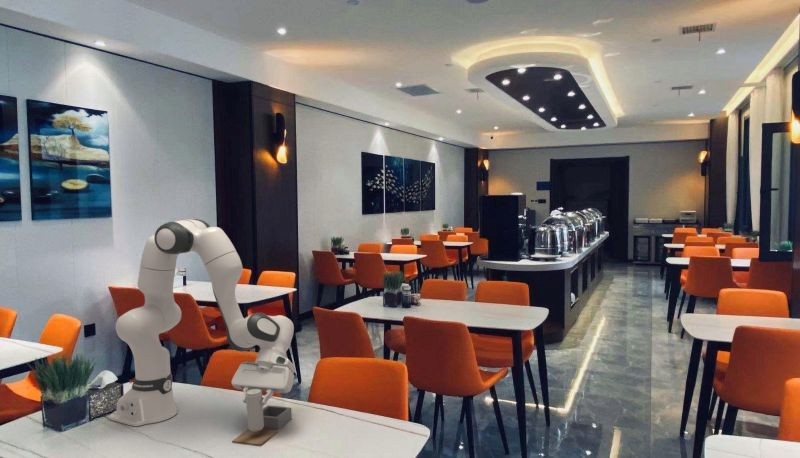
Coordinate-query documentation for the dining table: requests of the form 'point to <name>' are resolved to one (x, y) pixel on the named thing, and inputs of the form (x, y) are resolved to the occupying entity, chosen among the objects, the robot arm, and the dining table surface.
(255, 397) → the beverage can
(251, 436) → the coaster
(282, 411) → the can holder
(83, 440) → the dining table surface
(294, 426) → the dining table surface
